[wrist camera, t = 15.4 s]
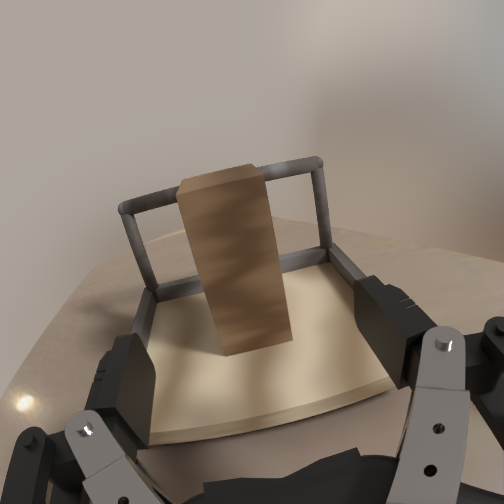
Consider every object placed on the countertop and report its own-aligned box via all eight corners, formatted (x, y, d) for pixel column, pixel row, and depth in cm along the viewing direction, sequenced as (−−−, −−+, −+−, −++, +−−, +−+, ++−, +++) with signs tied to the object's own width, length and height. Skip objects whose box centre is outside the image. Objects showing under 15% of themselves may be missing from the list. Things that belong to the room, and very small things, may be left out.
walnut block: (225, 356, 22) (175, 195, 17) (221, 317, 26) (182, 179, 22) (293, 340, 22) (263, 174, 17) (278, 304, 27) (251, 163, 22)
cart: (142, 460, 18) (27, 296, 12) (160, 324, 33) (115, 202, 27) (416, 393, 18) (442, 197, 13) (336, 282, 34) (322, 153, 28)
